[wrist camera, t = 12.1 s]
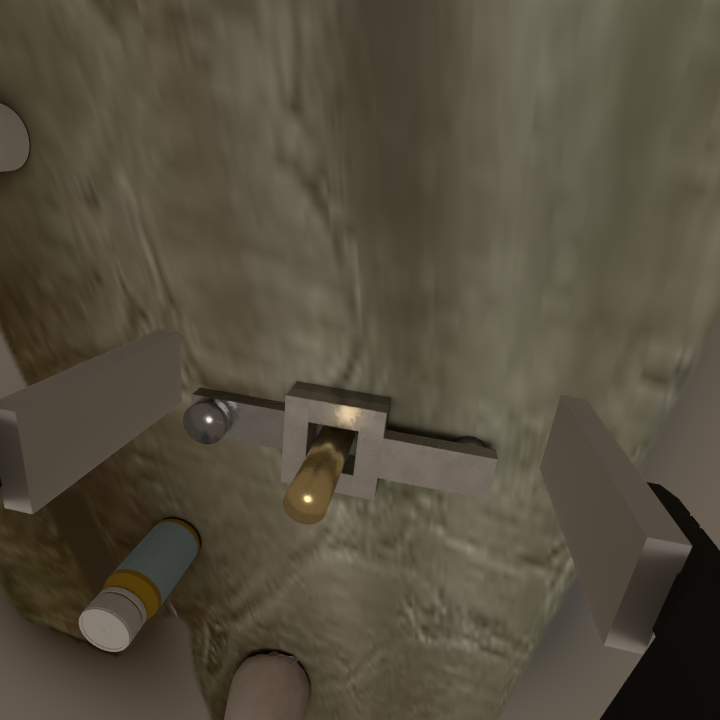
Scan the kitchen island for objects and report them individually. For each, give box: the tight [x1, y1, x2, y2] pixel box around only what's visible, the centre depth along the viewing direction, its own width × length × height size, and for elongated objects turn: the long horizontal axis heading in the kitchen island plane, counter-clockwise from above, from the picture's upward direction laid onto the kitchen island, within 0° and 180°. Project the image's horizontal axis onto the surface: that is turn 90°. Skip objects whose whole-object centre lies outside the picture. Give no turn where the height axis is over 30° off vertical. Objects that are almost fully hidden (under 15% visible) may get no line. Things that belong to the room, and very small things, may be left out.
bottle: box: [79, 519, 200, 652], centre depth 56 cm, size 7×7×15 cm
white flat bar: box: [183, 382, 498, 500], centre depth 52 cm, size 11×35×4 cm, turn 84°
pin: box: [283, 425, 355, 524], centre depth 47 cm, size 4×4×14 cm
